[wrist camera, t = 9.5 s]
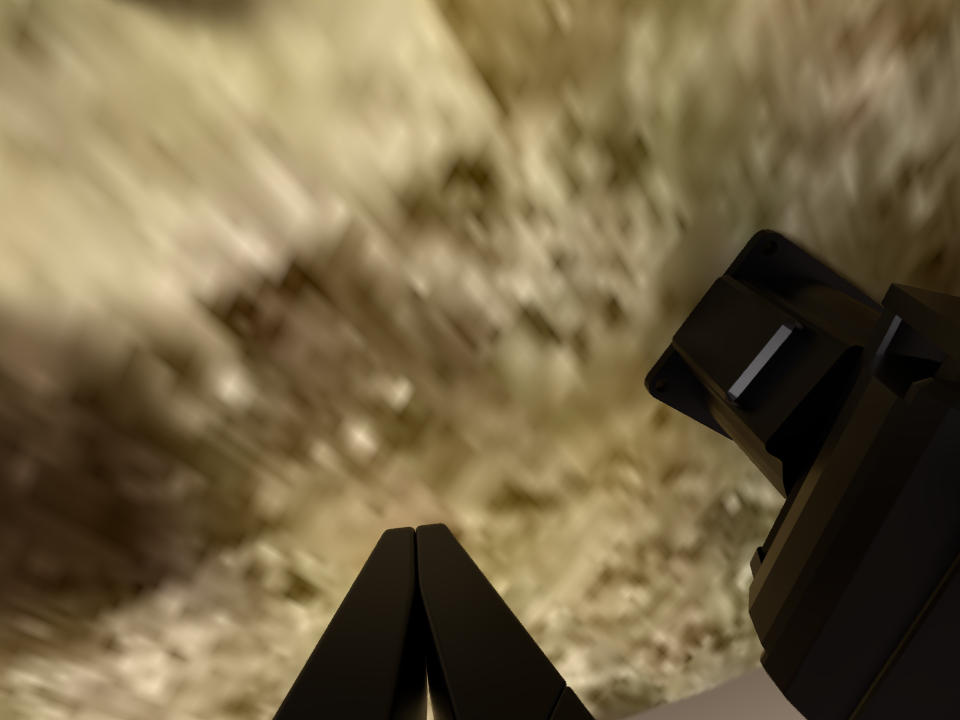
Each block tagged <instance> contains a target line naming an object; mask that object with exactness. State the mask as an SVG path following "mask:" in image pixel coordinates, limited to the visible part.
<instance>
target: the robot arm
mask: <svg viewBox="0 0 960 720" xmlns="http://www.w3.org/2000/svg"><path fill="white" fill-rule="evenodd" d="M767 241H771V245H770V248H769V249H768V250H767V251H766V252H762V247H763V245H764V244H765V243H766V242H767ZM882 305H884V306H885V308H883V307H882V306H880V305H879V304H877V303H876V302H875V301H873V300H872V299H870V298H869V297H868V296H866V295H865V294H863V293H862V292H861V291H859V290H858V289H856V288H855V287H854V286H852V285H851V284H849V283H848V282H846V281H845V280H844V279H842V278H841V277H839V276H838V275H837V274H835V273H834V272H832V271H831V270H830V269H828V268H827V267H825V266H824V265H823V264H821V263H820V262H818V261H817V260H816V259H814V258H813V257H811V256H810V255H808V254H807V253H806V252H804V251H803V250H801V249H800V248H799V247H797V246H796V245H794V244H793V243H792V242H790V241H789V240H787V239H786V238H785V237H783V236H782V235H780V234H778V233H776V232H774V231H771V230H769V229H767V230H761V231H759V232H757V233H756V234H755V235H754V236H753V237H752V238H751V239H750V240H749V242H748V243H747V244H746V246H745V247H744V248H743V250H742V251H741V252H740V254H739V255H738V256H737V257H736V259H735V260H734V261H733V263H732V264H731V265H730V267H729V268H728V269H727V271H726V272H725V273H724V275H723V276H722V277H720V278H718V279H717V280H716V281H715V282H714V284H713V285H712V286H711V288H710V289H709V290H708V292H707V293H706V294H705V295H704V297H703V298H702V299H701V301H700V302H699V303H698V305H697V306H696V307H695V309H694V310H693V311H692V313H691V314H690V315H689V317H688V318H687V319H686V320H685V322H684V323H683V324H682V326H681V327H680V328H679V330H678V331H677V332H676V334H675V335H674V336H673V342H672V343H671V344H670V345H669V347H668V348H667V349H666V351H665V352H664V353H663V355H662V356H661V357H660V359H659V360H658V361H657V363H656V364H655V365H654V366H653V368H652V369H651V370H650V372H649V373H648V374H647V376H646V378H645V387H646V389H647V390H648V392H649V393H650V394H651V395H652V396H653V397H654V398H656V399H658V400H660V401H661V402H663V403H665V404H667V405H669V406H671V407H672V408H674V409H676V410H678V411H680V412H682V413H683V414H685V415H687V416H689V417H691V418H692V419H694V420H696V421H698V422H700V423H702V424H703V425H705V426H707V427H709V428H711V429H713V430H714V431H716V432H718V433H720V434H722V435H724V436H725V437H727V438H729V439H731V440H733V441H734V442H735V443H736V444H737V445H738V446H739V447H740V448H741V450H742V451H743V452H744V453H745V454H746V455H747V456H748V457H749V459H750V460H751V461H752V462H753V463H754V464H755V465H756V466H757V468H758V469H759V470H760V471H761V472H762V473H763V474H764V475H765V477H766V478H767V479H768V480H769V481H770V482H771V483H772V484H773V486H774V487H775V488H776V489H777V490H778V491H779V492H780V493H781V495H782V496H783V497H784V498H785V499H786V501H785V503H784V505H783V507H782V509H781V511H780V513H779V515H778V517H777V519H776V521H775V523H774V525H773V527H772V529H771V531H770V533H769V535H768V537H767V539H766V541H765V543H764V545H763V547H758V548H757V550H756V552H755V554H754V556H753V558H752V559H751V561H750V566H751V570H752V574H753V578H754V580H753V582H752V584H751V586H750V588H749V614H750V617H751V619H752V622H753V624H754V627H755V629H756V632H757V634H758V637H759V639H760V642H761V644H762V646H763V648H764V651H763V653H762V654H761V658H760V661H761V664H762V666H763V668H764V669H765V671H766V672H767V674H768V675H769V677H770V678H771V679H772V681H773V682H774V683H775V684H776V686H777V687H778V688H779V690H780V691H781V692H782V694H783V695H784V696H785V698H786V699H787V700H788V701H789V702H790V703H791V704H792V705H793V706H794V707H795V708H796V709H797V710H798V711H799V712H800V713H801V714H802V715H803V716H804V717H805V718H806V719H807V720H960V297H956V296H951V295H947V294H942V293H938V292H933V291H929V290H924V289H919V288H915V287H910V286H906V285H901V284H897V283H892V284H891V286H890V288H889V290H888V291H887V293H886V295H885V297H884V299H883V301H882ZM662 379H666V381H665V383H664V384H663V385H662V386H660V387H656V384H657V382H658V381H660V380H662ZM426 667H427V668H426ZM427 676H428V685H429V693H430V699H431V705H432V711H433V716H434V720H596V719H595V718H594V717H593V716H592V715H591V713H590V712H589V711H588V710H587V708H586V707H585V706H584V704H583V703H582V702H581V700H580V699H579V698H578V697H577V695H576V694H575V693H574V691H573V690H572V689H571V688H570V687H569V686H567V684H566V681H565V680H564V679H563V677H562V676H561V675H560V674H559V672H558V671H557V670H556V668H555V667H554V666H553V664H552V663H551V662H550V660H549V659H548V658H547V657H546V655H545V654H544V653H543V651H542V650H541V649H540V647H539V646H538V645H537V643H536V642H535V641H534V640H533V638H532V637H531V636H530V634H529V633H528V632H527V630H526V629H525V628H524V626H523V625H522V624H521V623H520V621H519V620H518V619H517V617H516V616H515V615H514V613H513V612H512V611H511V609H510V608H509V607H508V606H507V604H506V603H505V602H504V600H503V599H502V598H501V596H500V595H499V594H498V593H497V591H496V590H495V589H494V587H493V586H492V585H491V583H490V582H489V581H488V579H487V578H486V577H485V576H484V574H483V573H482V572H481V570H480V569H479V568H478V566H477V565H476V564H475V562H474V561H473V560H472V559H471V557H470V556H469V555H468V553H467V552H466V551H465V549H464V548H463V547H462V545H461V544H460V543H459V542H458V540H457V539H456V538H455V536H454V535H453V534H452V532H451V531H450V530H449V529H448V527H447V526H446V525H445V524H442V523H439V524H430V525H421V526H418V527H417V528H416V533H415V530H414V528H412V527H403V528H394V529H388V530H386V531H385V532H384V533H383V535H382V536H381V538H380V540H379V541H378V543H377V545H376V546H375V548H374V550H373V551H372V553H371V555H370V556H369V558H368V560H367V561H366V563H365V565H364V566H363V568H362V570H361V571H360V573H359V575H358V577H357V578H356V580H355V582H354V583H353V585H352V587H351V588H350V590H349V592H348V593H347V595H346V597H345V598H344V600H343V602H342V603H341V605H340V607H339V608H338V610H337V612H336V613H335V615H334V617H333V618H332V620H331V622H330V624H329V625H328V627H327V629H326V630H325V632H324V634H323V635H322V637H321V639H320V640H319V642H318V644H317V645H316V647H315V649H314V650H313V652H312V654H311V655H310V657H309V659H308V660H307V662H306V664H305V665H304V667H303V669H302V671H301V672H300V674H299V676H298V677H297V679H296V681H295V682H294V684H293V686H292V687H291V689H290V691H289V692H288V694H287V696H286V697H285V699H284V701H283V702H282V704H281V706H280V707H279V709H278V711H277V712H276V714H275V716H274V718H273V719H272V720H427V692H428V690H427Z"/></svg>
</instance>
